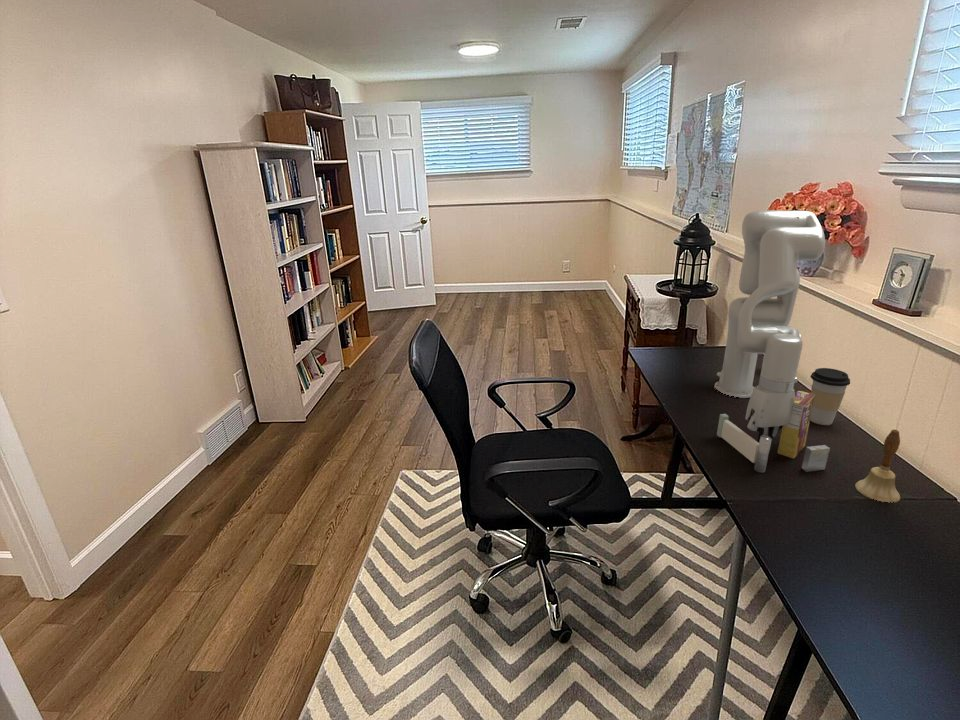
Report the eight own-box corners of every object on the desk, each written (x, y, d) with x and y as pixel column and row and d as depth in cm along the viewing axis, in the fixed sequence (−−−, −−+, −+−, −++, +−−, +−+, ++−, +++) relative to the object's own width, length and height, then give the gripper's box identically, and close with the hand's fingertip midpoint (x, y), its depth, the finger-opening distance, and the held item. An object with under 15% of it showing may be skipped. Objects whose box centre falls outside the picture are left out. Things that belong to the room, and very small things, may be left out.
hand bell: (907, 505, 111) (928, 442, 105) (862, 499, 113) (881, 437, 108) (890, 484, 118) (909, 423, 113) (849, 479, 121) (866, 419, 115)
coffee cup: (845, 429, 143) (858, 380, 138) (808, 426, 145) (819, 378, 140) (831, 414, 152) (842, 367, 146) (796, 412, 153) (806, 366, 148)
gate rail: (758, 463, 127) (762, 441, 124) (752, 464, 126) (756, 441, 124) (722, 434, 141) (725, 413, 138) (716, 434, 141) (720, 414, 138)
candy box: (787, 440, 138) (798, 389, 132) (804, 446, 135) (817, 394, 129) (775, 453, 132) (786, 400, 127) (793, 459, 129) (805, 405, 124)
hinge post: (752, 467, 126) (758, 435, 123) (760, 466, 126) (767, 434, 123) (758, 473, 124) (764, 440, 121) (767, 472, 124) (774, 439, 121)
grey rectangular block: (801, 468, 125) (806, 446, 123) (819, 465, 126) (824, 444, 124) (806, 471, 124) (811, 450, 122) (824, 469, 125) (830, 448, 123)
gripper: (792, 375, 130) (779, 438, 136) (739, 380, 128) (728, 443, 134) (815, 387, 123) (799, 452, 129) (758, 392, 121) (746, 458, 127)
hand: (763, 447), depth 132 cm, fingers closed
